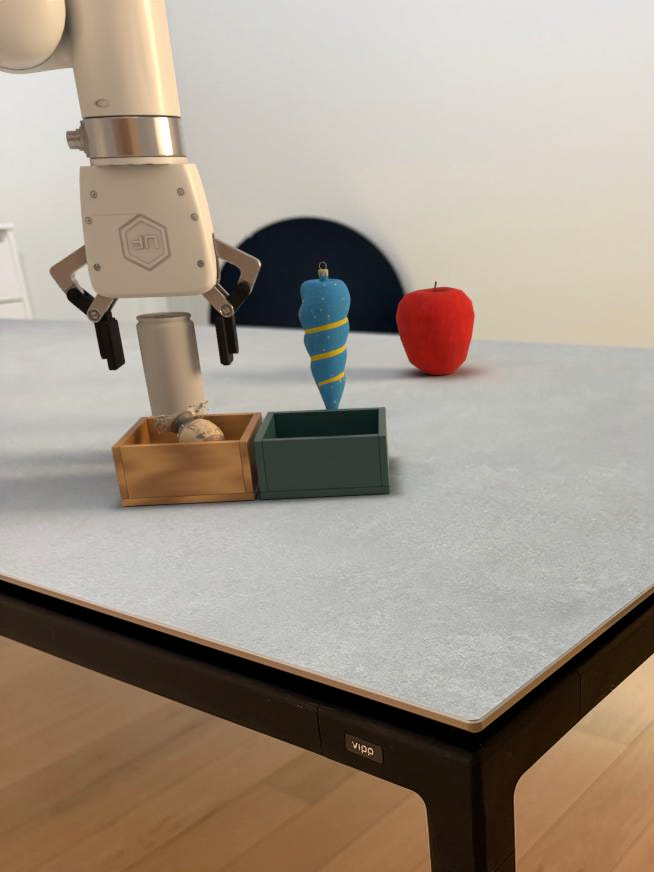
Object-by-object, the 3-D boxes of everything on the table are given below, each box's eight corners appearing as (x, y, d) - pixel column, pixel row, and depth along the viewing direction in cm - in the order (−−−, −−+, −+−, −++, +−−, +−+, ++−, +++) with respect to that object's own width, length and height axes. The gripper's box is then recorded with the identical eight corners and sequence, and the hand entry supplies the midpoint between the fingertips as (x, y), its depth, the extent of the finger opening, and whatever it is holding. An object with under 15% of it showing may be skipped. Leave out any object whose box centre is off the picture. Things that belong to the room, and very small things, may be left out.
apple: (429, 363, 125) (425, 275, 121) (491, 369, 121) (489, 278, 116) (383, 376, 118) (377, 283, 113) (447, 383, 113) (443, 286, 108)
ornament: (321, 410, 102) (307, 259, 95) (366, 412, 100) (355, 259, 94) (301, 421, 97) (284, 264, 90) (348, 423, 96) (335, 264, 89)
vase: (227, 462, 81) (261, 471, 76) (168, 482, 78) (200, 493, 73) (209, 399, 78) (243, 405, 74) (147, 418, 75) (179, 425, 71)
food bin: (122, 506, 73) (110, 447, 71) (150, 470, 82) (141, 416, 80) (254, 500, 74) (246, 441, 72) (267, 465, 83) (261, 412, 81)
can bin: (260, 499, 74) (253, 441, 72) (273, 464, 83) (267, 411, 81) (389, 493, 75) (386, 435, 72) (388, 459, 83) (385, 406, 81)
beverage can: (173, 462, 84) (149, 320, 79) (149, 452, 87) (124, 315, 82) (222, 452, 87) (202, 314, 82) (197, 442, 90) (176, 310, 85)
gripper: (8, 147, 72) (58, 377, 80) (240, 141, 73) (267, 369, 81) (40, 149, 79) (83, 362, 86) (251, 144, 80) (276, 354, 88)
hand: (172, 365), depth 84 cm, fingers open, 9 cm apart
